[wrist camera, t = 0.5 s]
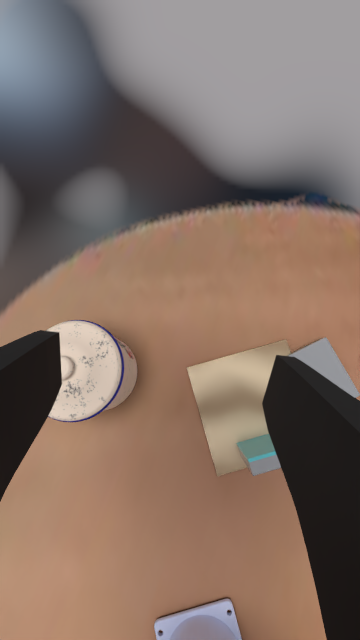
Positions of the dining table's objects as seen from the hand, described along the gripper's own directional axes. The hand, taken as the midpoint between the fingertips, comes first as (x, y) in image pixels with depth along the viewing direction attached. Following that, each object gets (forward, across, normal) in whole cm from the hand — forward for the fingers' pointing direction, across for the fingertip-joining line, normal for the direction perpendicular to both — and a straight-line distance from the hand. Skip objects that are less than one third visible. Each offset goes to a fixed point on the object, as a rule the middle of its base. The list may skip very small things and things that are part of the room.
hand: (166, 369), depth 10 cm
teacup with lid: (+22, +8, +16) cm, 28 cm away
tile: (+16, -12, +19) cm, 27 cm away
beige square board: (+18, -11, +16) cm, 27 cm away
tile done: (+20, -17, +12) cm, 29 cm away
